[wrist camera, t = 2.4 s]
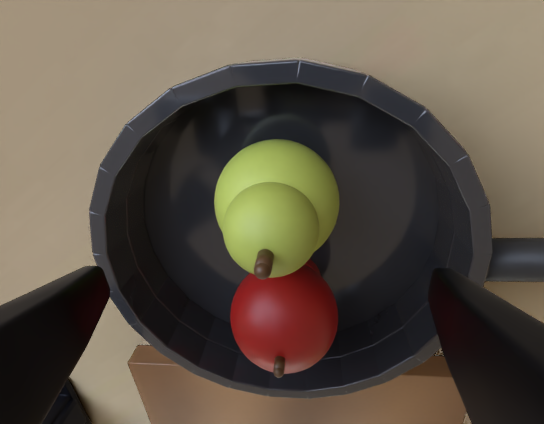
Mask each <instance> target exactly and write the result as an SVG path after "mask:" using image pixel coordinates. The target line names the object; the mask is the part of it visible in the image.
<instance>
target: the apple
mask: <svg viewBox="0 0 544 424" xmlns="http://www.w3.org/2000/svg"><path fill="white" fill-rule="evenodd" d="M230 321H231V328H232V332H233V335H234V338H235V341H236V343H237V345H238V346H239V348H240V350H241V351H242V352H243V354H244V355H245V356H246V357H247V358H248V359H249V360H250V361H251V362H253V363H254V364H255V365H257V366H259V367H260V368H262V369H264V370H267V371H270V372H273V373H274V376H275V377H277V378H280V377H282V376H283V375H284V374H290V373H296V372H300V371H303V370H305V369H308V368H309V367H311V366H313V365H314V364H316V363H317V362H318V361H319V360H320V359H321V358H322V357H323V356H324V355H325V354H326V353H327V351H328V350H329V348H330V347H331V345H332V343H333V341H334V338H335V335H336V332H337V326H338V309H337V304H336V300H335V297H334V295H333V292H332V290H331V288H330V287H329V285H328V284H327V282H326V281H325V280H324V279H323V277H322V276H321V274H320V271H319V269H318V267H317V266H316V264H315V263H314V262H313V261H312V260H311V259H309V260H308V261H307V262H306V263H305V264H304V265H303V266H302V267H301V268H299V269H298V270H296V271H295V272H293V273H291V274H288V275H285V276H282V277H275V278H267V279H263V280H262V279H258V278H257V277H256V276H255V275H254V274H252V273H249V274H248V275H247V276H246V277H245V278H244V279H243V281H242V282H241V283H240V285H239V287H238V288H237V290H236V292H235V295H234V297H233V301H232V305H231V312H230Z"/></svg>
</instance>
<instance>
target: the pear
mask: <svg viewBox="0 0 544 424" xmlns="http://www.w3.org/2000/svg"><path fill="white" fill-rule="evenodd" d="M214 206H215V214H216V218H217V222H218V224H219V227H220V229H221V231H222V233H223V237H224V242H225V245H226V248H227V250H228V252H229V254H230V255H231V257H232V258H233V260H234V261H235V262H236V263H237V264H238V265H239V266H240V267H242V268H243V269H244V270H246V271H248V272H249V273H252V274H254V275H255V276H256V277H257V278H258V279H262V280H263V279H267V278H275V277H282V276H285V275H288V274H291V273H293V272H295V271H296V270H298V269H299V268H301V267H302V266H303V265H304V264H305V263H306V262H307V261H308V260H309V259H310V257H311V256H312V254H313V252H315V251H316V250H317V249H318V248H320V247H321V246H322V245H323V244H324V242H325V241H326V240H327V239H328V237H329V235H330V234H331V232H332V230H333V228H334V226H335V224H336V220H337V217H338V213H339V191H338V186H337V183H336V180H335V177H334V175H333V173H332V171H331V169H330V168H329V166H328V165H327V164H326V162H325V161H324V160H323V159H322V158H321V157H320V156H319V155H318V154H317V153H315V152H314V151H313V150H311V149H310V148H308V147H306V146H304V145H302V144H300V143H297V142H294V141H290V140H284V139H271V140H264V141H260V142H257V143H254V144H252V145H249V146H248V147H246V148H244V149H242V150H241V151H240V152H238V153H237V154H236V155H235V156H234V157H233V158H232V159H231V160H230V161H229V162H228V163H227V165H226V166H225V167H224V169H223V171H222V173H221V175H220V177H219V179H218V182H217V185H216V190H215V197H214Z"/></svg>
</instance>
